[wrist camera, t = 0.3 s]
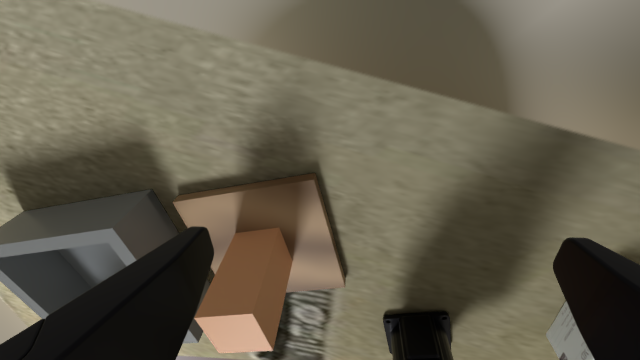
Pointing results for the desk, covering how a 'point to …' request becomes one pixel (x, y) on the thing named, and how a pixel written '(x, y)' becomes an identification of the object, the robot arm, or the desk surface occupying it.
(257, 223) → the stud base
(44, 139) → the desk surface
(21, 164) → the desk surface
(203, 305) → the tan wooden brick
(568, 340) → the small box
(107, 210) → the bin
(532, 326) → the desk surface
